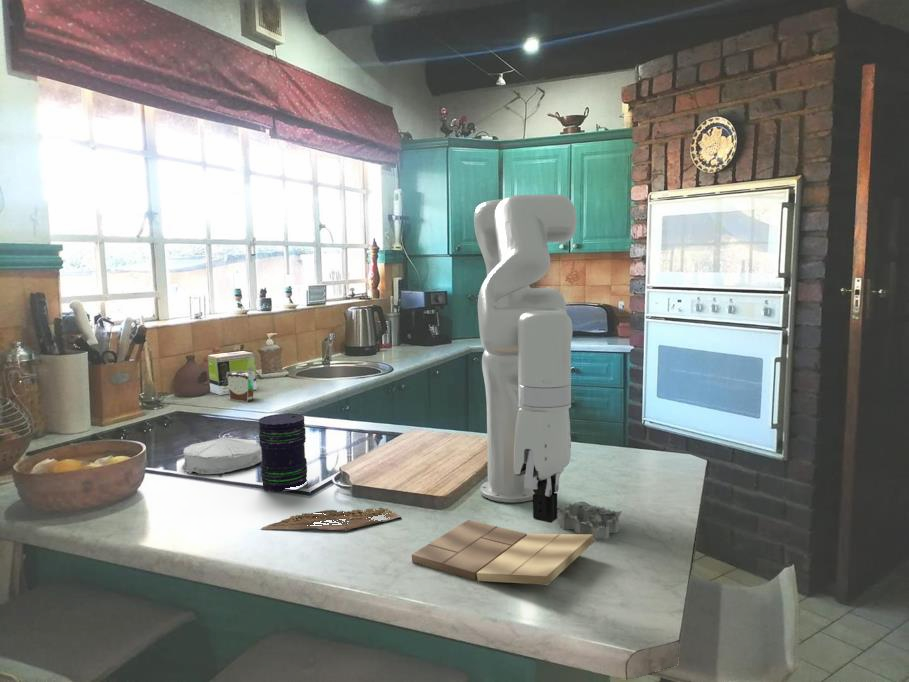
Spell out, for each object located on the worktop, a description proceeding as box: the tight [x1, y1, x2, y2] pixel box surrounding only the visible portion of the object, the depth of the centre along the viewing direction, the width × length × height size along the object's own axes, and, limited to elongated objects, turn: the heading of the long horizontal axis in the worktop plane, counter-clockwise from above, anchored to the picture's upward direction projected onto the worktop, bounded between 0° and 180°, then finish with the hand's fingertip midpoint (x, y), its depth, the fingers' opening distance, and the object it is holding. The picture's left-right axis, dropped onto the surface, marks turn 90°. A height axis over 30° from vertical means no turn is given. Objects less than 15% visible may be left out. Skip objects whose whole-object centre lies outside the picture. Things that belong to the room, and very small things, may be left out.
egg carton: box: [557, 501, 622, 540], centre depth 120 cm, size 11×8×4 cm
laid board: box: [411, 519, 528, 581], centre depth 111 cm, size 17×12×1 cm
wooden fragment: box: [260, 507, 401, 532], centre depth 125 cm, size 26×11×1 cm, turn 96°
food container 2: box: [226, 371, 255, 403], centre depth 241 cm, size 12×6×10 cm, turn 58°
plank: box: [476, 533, 595, 586], centre depth 104 cm, size 17×12×1 cm
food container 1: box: [181, 437, 262, 475], centre depth 164 cm, size 20×20×7 cm
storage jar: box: [258, 413, 308, 493], centre depth 146 cm, size 10×10×15 cm
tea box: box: [207, 350, 258, 396], centre depth 257 cm, size 15×10×15 cm, turn 130°
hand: (545, 519), depth 98 cm, fingers closed
